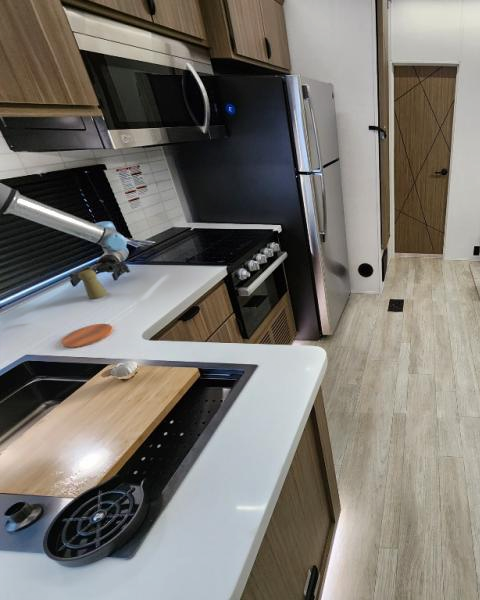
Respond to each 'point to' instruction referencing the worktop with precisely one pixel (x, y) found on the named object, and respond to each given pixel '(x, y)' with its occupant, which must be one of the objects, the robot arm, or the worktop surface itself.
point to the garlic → (124, 368)
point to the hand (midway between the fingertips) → (93, 280)
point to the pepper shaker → (92, 284)
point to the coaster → (86, 335)
